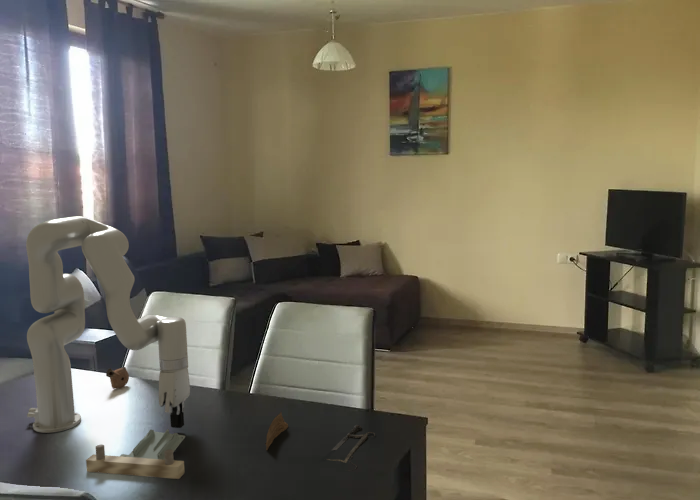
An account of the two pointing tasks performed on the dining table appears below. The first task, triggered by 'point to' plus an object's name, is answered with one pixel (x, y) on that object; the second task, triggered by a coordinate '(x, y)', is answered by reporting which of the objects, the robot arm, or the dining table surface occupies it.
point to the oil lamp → (118, 377)
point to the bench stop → (135, 465)
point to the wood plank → (275, 429)
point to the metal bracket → (156, 445)
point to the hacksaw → (350, 434)
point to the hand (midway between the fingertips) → (177, 426)
